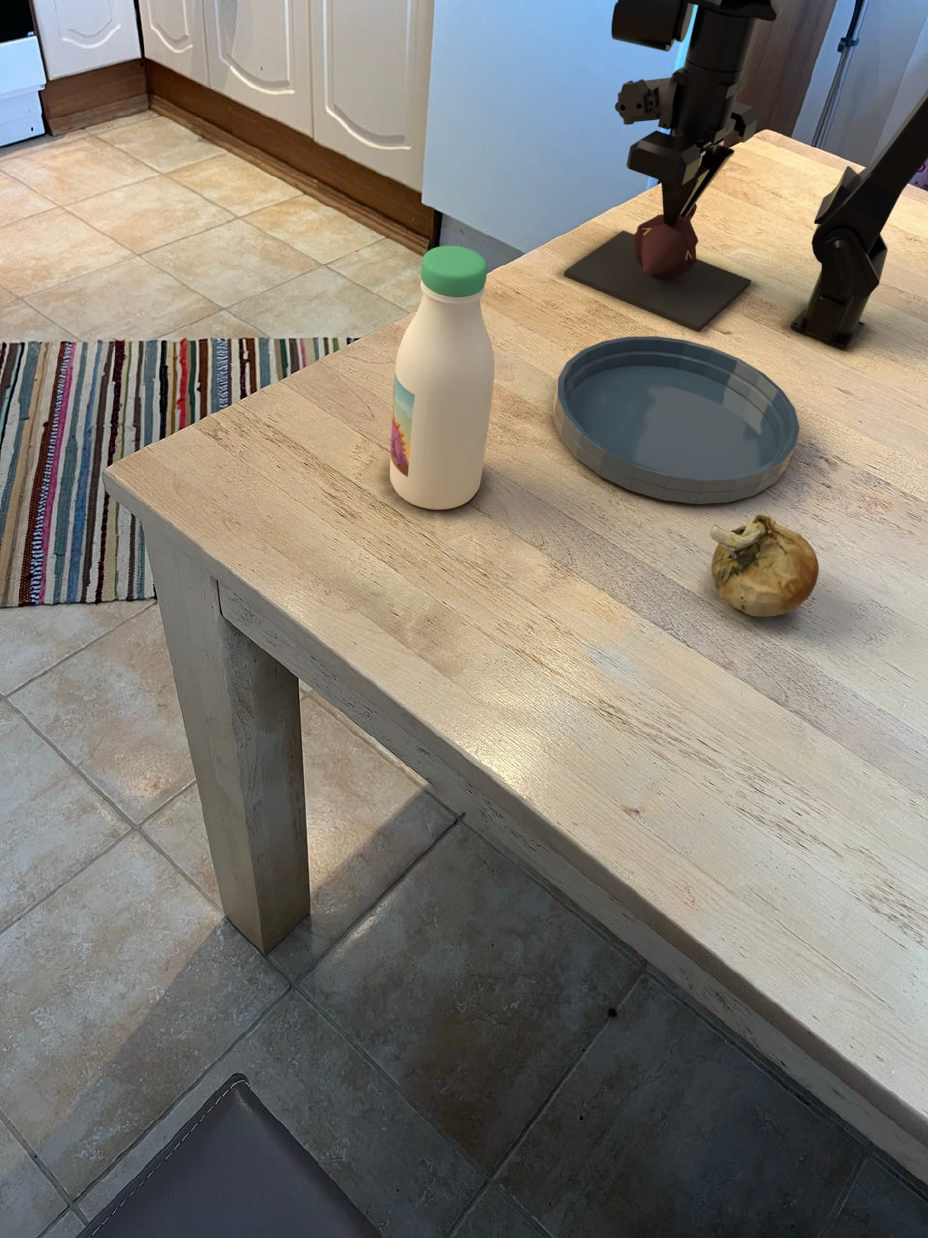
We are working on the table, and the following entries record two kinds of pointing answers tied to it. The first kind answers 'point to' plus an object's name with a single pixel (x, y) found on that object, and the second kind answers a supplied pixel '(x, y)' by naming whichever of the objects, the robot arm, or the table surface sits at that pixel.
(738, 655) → the table surface
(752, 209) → the table surface
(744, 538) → the onion
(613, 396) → the bowl
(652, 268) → the dark red teardrop piece
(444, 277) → the milk bottle
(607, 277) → the plate
